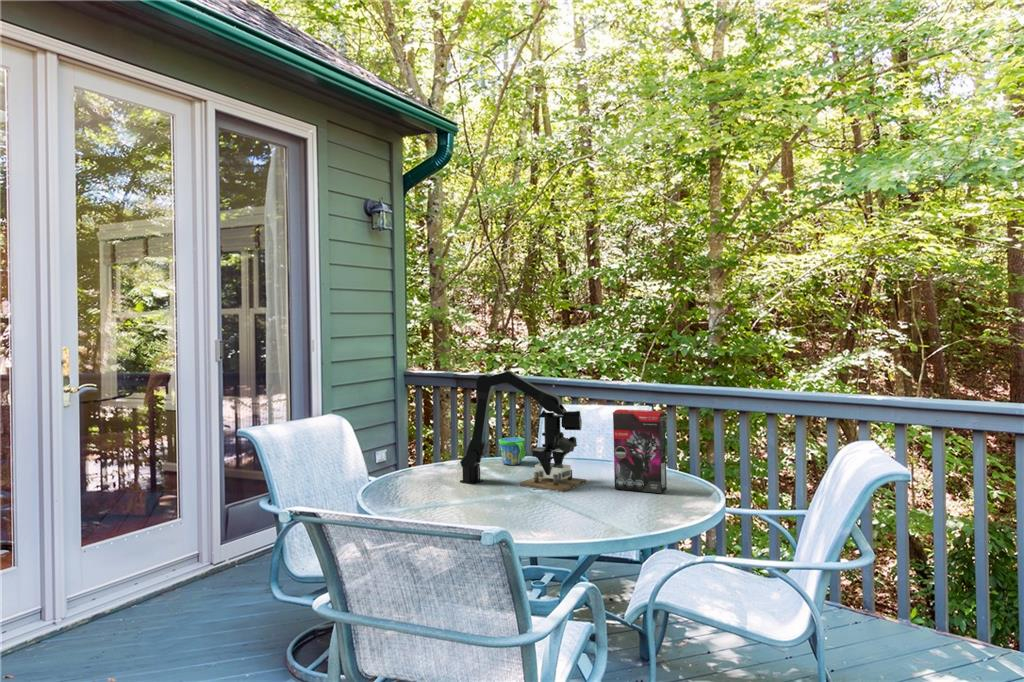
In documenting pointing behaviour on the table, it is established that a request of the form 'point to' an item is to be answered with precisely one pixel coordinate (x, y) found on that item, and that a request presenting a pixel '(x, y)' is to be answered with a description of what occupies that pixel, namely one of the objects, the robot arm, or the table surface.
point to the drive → (554, 471)
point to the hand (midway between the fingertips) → (553, 473)
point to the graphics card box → (639, 450)
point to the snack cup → (512, 450)
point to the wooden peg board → (553, 482)
